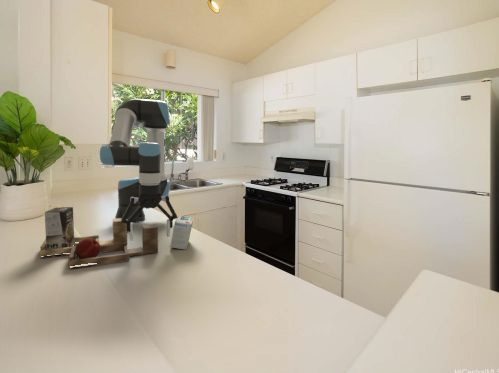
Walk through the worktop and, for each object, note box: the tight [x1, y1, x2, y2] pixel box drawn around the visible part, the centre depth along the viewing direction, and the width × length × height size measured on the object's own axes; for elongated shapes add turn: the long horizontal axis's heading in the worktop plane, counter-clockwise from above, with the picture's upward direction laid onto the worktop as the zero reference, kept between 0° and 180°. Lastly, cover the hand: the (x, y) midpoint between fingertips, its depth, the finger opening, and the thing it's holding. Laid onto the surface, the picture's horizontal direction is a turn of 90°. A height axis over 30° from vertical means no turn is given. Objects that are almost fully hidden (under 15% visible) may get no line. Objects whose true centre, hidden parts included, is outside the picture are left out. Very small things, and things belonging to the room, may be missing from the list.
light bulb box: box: [169, 215, 194, 251], centre depth 116 cm, size 11×7×11 cm, turn 6°
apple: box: [75, 238, 101, 259], centre depth 98 cm, size 7×8×8 cm
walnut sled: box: [68, 223, 159, 267], centre depth 102 cm, size 28×13×10 cm, turn 118°
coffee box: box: [44, 206, 76, 250], centre depth 106 cm, size 9×6×16 cm
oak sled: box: [39, 218, 128, 257], centre depth 110 cm, size 28×13×10 cm, turn 118°
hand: (150, 237), depth 108 cm, fingers open, 13 cm apart
